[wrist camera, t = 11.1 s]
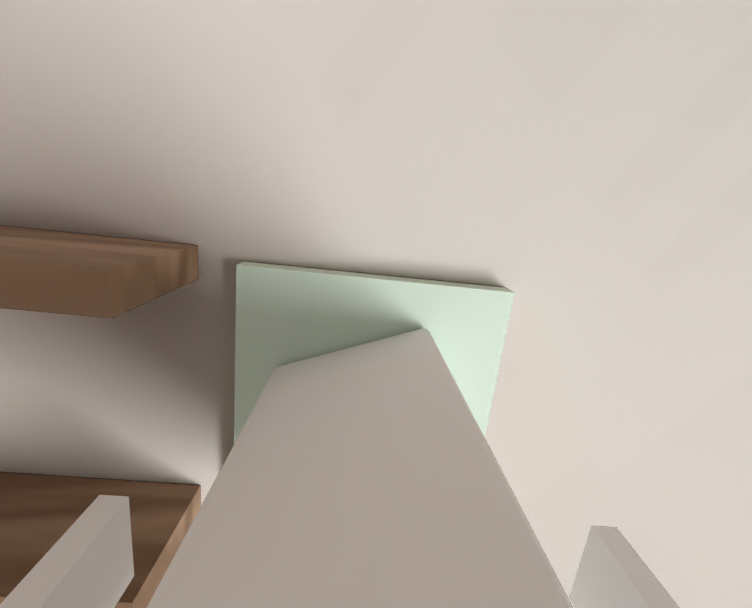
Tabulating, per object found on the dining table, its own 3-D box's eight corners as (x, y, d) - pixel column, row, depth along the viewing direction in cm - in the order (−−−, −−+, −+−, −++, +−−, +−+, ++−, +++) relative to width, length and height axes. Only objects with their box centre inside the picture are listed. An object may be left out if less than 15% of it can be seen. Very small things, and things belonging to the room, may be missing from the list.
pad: (243, 261, 17) (236, 265, 16) (506, 287, 17) (514, 292, 16) (239, 503, 20) (232, 518, 19) (460, 517, 21) (465, 532, 20)
